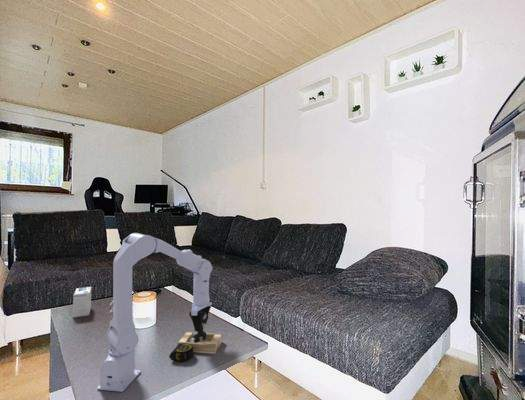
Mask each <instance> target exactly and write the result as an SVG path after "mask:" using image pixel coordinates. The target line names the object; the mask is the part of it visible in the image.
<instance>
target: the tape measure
mask: <svg viewBox="0 0 525 400" xmlns="http://www.w3.org/2000/svg"><path fill="white" fill-rule="evenodd" d="M193 355H194V352H193V346H192V345H191V344H189V343H184V344H178V343H177V345H176V347H175V348H174V349H173V350H172V351H171V352H170V355H169V359H170V360H171V361H178V362H185V361H187V360H189V359H191V358H192V357H193Z"/></svg>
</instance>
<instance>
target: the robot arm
mask: <svg viewBox="0 0 525 400" xmlns="http://www.w3.org/2000/svg"><path fill="white" fill-rule="evenodd" d="M154 253H155V254H157V253H162V254H164V255H167V256H169V257H171V258H173V259H175V261H176V263H177V265H179V266H180V267H183V268H185V269H187V270H189V271H191V272H192V273H193V288H192V289H193V290H192V291H193V294H192V306H191V310H190V311H189V314H188V315H189V317H190V319H191V321H192V324H193V328H194V332H195V331H201V329H202V322H203V318H204V315H205V313H206V315H208V316H209V312H210V310H211V308H212V306H213V303H212V302H211V301H210V278H211V273H212V271H213V265H212V263H211V261H210V260H208V259H205V258H202V255H197V254H196V253H193V250H191V249H183V250H179V249H178V248H177V247H174V246H173V245H171V244H170V243H167V242H166V241H164V240H162V239H160V238H157V237H153V236H152V235H149V234H143V233H140V232H133V233H131V234H129V235H128V236H126V237H125V238H124V239H123V240H122V244H121V246H120V247H119V250H118V251H117V253H116V255H115V256H114V258H113V262H112V264H113V267H112V269H113V273H112V274H113V275H112V276H113V277H112V280H113V282H112V283H113V284H112V285H113V286H112V287H113V288H112V289H113V290H112V292H113V293H112V301H113V305H112V307H113V313H112V319H111V320H110V322H109V327H108V330H107V332H106V337H105V338H106V340H107V342H108V343H109V344H110V345H109V348H108V352H107V353H108V354H107V357H106V359H105V360H104V361H103V362H102V364H101V365H100V369H99V371H100V372H99V373H100V374H99V376H100V377H99V385H98V386H97V390H100V391H101V390H102V391H111V392H124V391H125V390H126V389H127V388H128V386H130V384H131V383H132V382H134V380H135V379H136V378H137V377H138V376H139V375H140V373H141V370H140V369H139V370H138V369H135V368H136V365H135V364H136V361H135V360H136V348H137V346H138V344H139V336H138V334H137V332H136V325H135V322H134V320H133V303H132V291H133V267H134V265H136V264H137V263H138V262H139V261H140V260H142V259H144V258H146V257H148V256H149V255H151V254H154ZM206 324H207V322H206V323H205V325H206Z"/></svg>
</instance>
